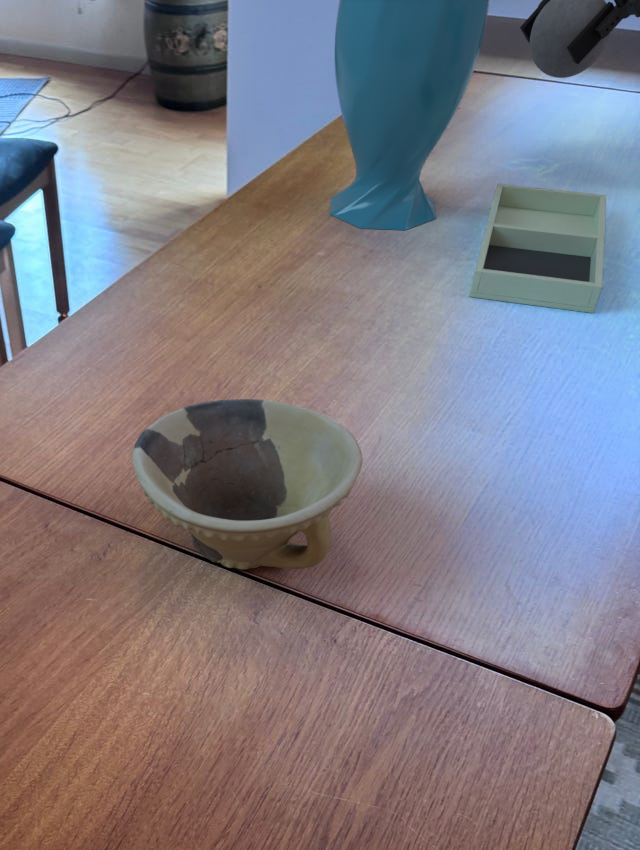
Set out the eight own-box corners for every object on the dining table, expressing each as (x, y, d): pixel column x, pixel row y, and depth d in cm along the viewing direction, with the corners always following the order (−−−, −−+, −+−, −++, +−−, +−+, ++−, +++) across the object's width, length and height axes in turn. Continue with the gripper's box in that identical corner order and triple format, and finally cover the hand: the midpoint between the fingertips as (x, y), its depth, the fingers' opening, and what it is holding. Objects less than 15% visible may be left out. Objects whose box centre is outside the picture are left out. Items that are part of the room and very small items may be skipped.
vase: (314, 231, 118) (342, -55, 96) (321, 180, 129) (348, -86, 108) (450, 238, 116) (511, -54, 94) (445, 185, 127) (499, -86, 105)
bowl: (390, 540, 76) (411, 445, 69) (247, 653, 68) (254, 558, 61) (235, 454, 85) (240, 362, 78) (91, 545, 77) (82, 451, 70)
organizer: (598, 219, 118) (606, 194, 116) (593, 313, 102) (602, 286, 99) (491, 207, 122) (497, 183, 119) (468, 296, 105) (475, 270, 103)
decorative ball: (506, 71, 128) (525, -15, 120) (567, 62, 130) (589, -23, 122) (549, 91, 121) (572, 1, 114) (612, 81, 123) (639, -7, 116)
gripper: (768, -75, 108) (611, 89, 117) (644, -103, 123) (513, 44, 132) (751, -130, 104) (589, 46, 112) (624, -152, 118) (489, 4, 127)
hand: (548, 45), depth 122 cm, fingers closed on decorative ball, 10 cm apart
